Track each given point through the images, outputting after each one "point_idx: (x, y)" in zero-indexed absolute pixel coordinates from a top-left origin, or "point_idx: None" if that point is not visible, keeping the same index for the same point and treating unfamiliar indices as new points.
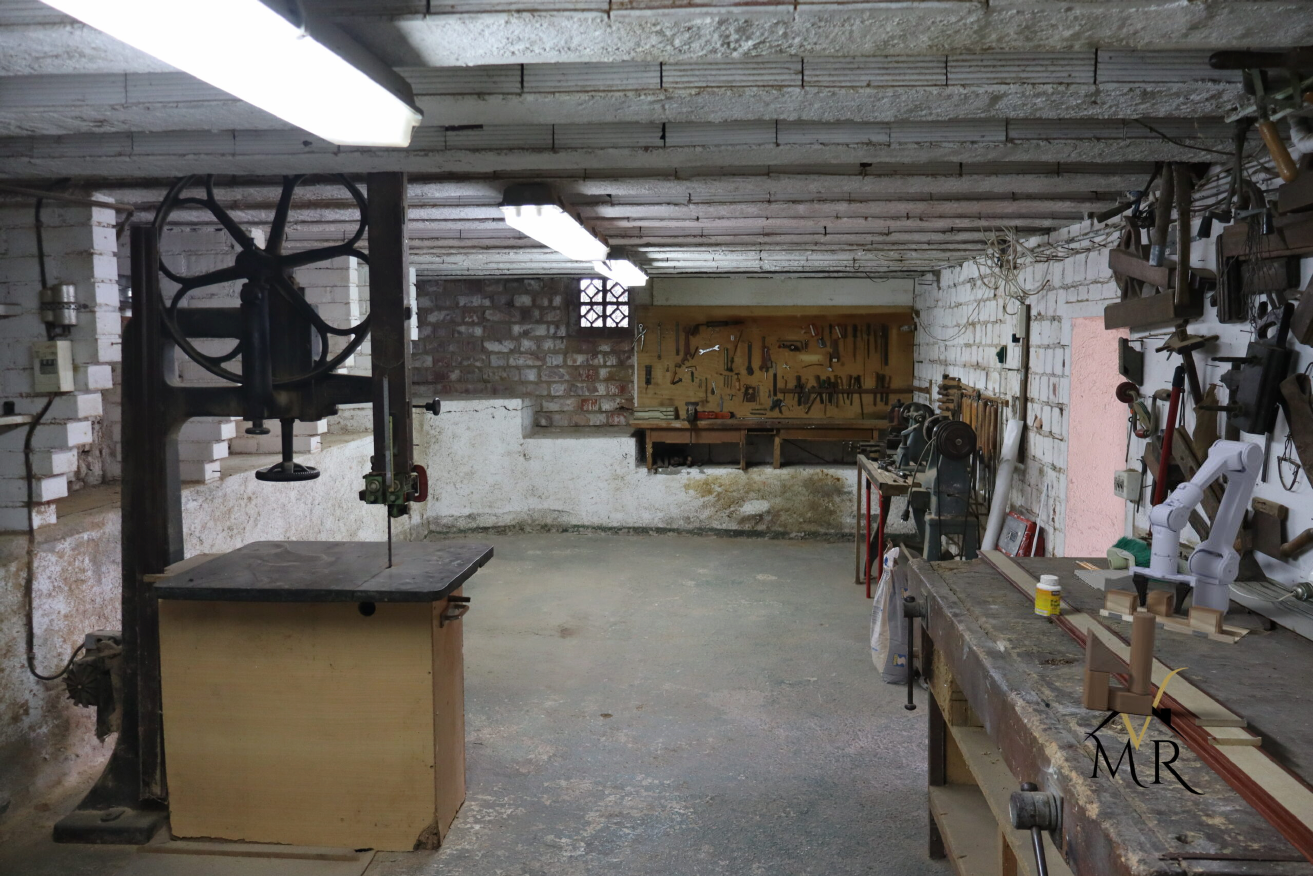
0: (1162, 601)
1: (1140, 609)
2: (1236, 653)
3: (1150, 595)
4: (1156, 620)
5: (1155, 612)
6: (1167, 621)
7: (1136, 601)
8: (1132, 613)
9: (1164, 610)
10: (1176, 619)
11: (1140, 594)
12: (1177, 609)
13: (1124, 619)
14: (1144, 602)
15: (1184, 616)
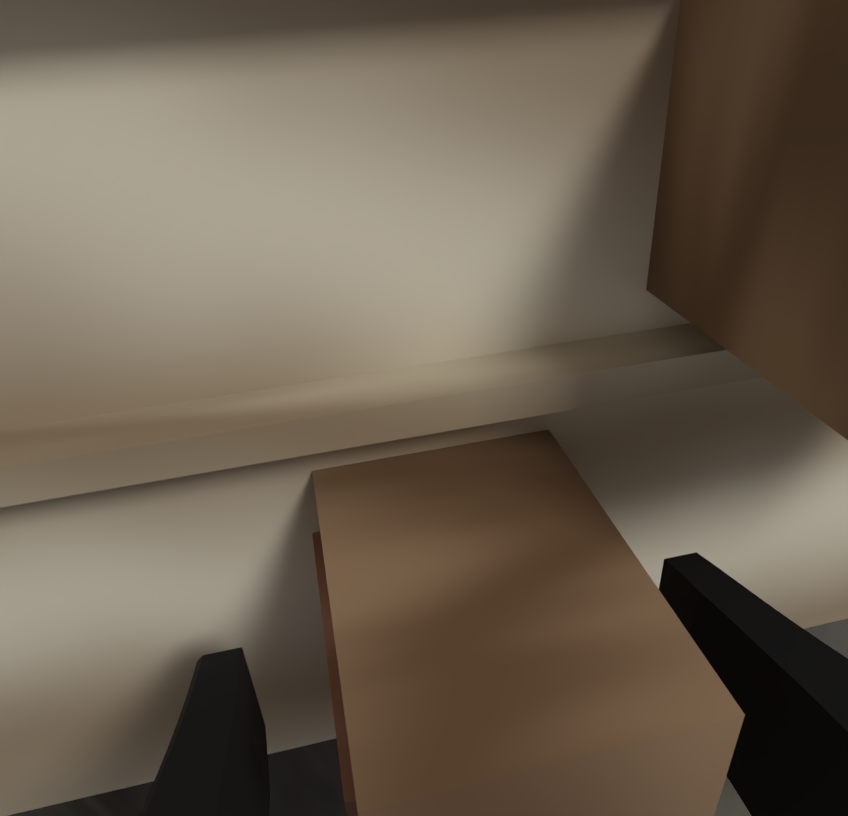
0: (415, 685)
1: None
2: None
3: (683, 697)
4: (365, 328)
5: (460, 495)
6: (225, 402)
7: (841, 336)
8: (732, 68)
9: (341, 565)
10: (88, 471)
11: (833, 682)
12: (189, 709)
13: None
14: None
15: None
